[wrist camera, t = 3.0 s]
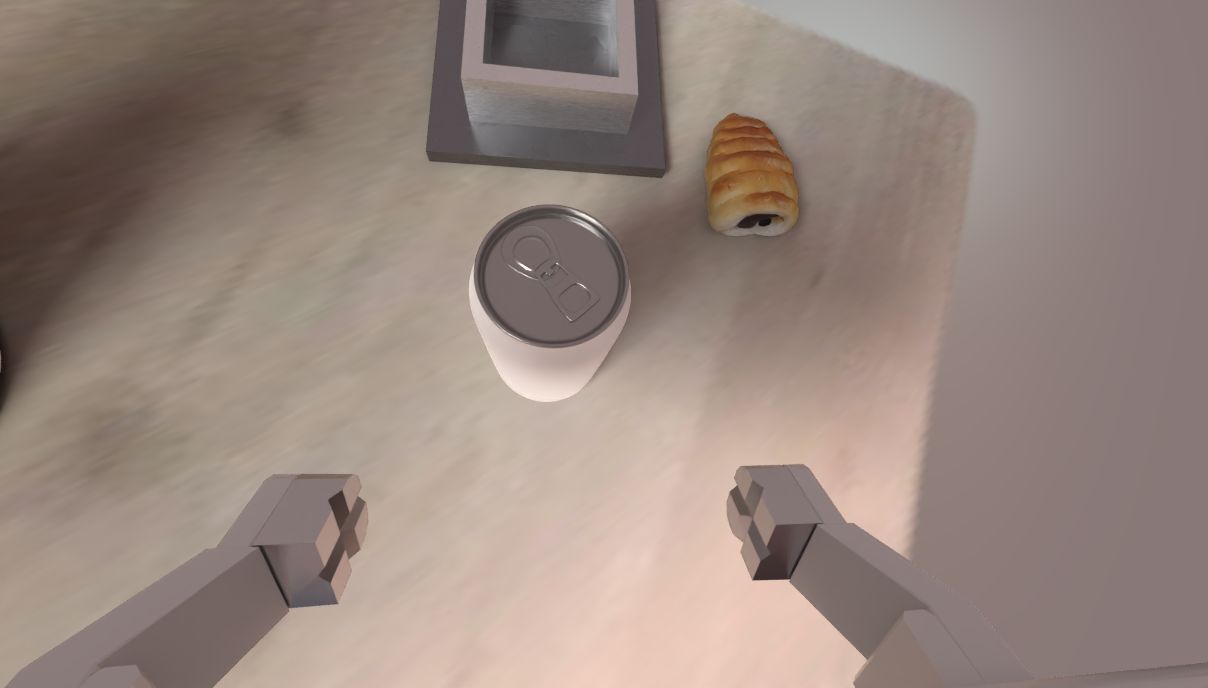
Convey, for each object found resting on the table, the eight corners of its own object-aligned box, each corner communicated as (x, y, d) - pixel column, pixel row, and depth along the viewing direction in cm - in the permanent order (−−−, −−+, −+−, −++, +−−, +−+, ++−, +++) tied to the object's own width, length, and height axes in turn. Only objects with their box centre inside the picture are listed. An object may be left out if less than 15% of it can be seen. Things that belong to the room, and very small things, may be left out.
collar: (429, 160, 30) (411, 109, 25) (446, -21, 34) (432, -92, 29) (661, 177, 32) (680, 133, 28) (651, 5, 36) (666, -56, 32)
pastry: (688, 129, 34) (707, 89, 30) (770, 133, 35) (798, 94, 31) (705, 241, 31) (727, 212, 28) (792, 241, 32) (825, 213, 29)
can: (551, 282, 29) (559, 164, 17) (619, 355, 28) (675, 282, 17) (471, 346, 27) (421, 261, 15) (542, 425, 26) (545, 398, 15)
